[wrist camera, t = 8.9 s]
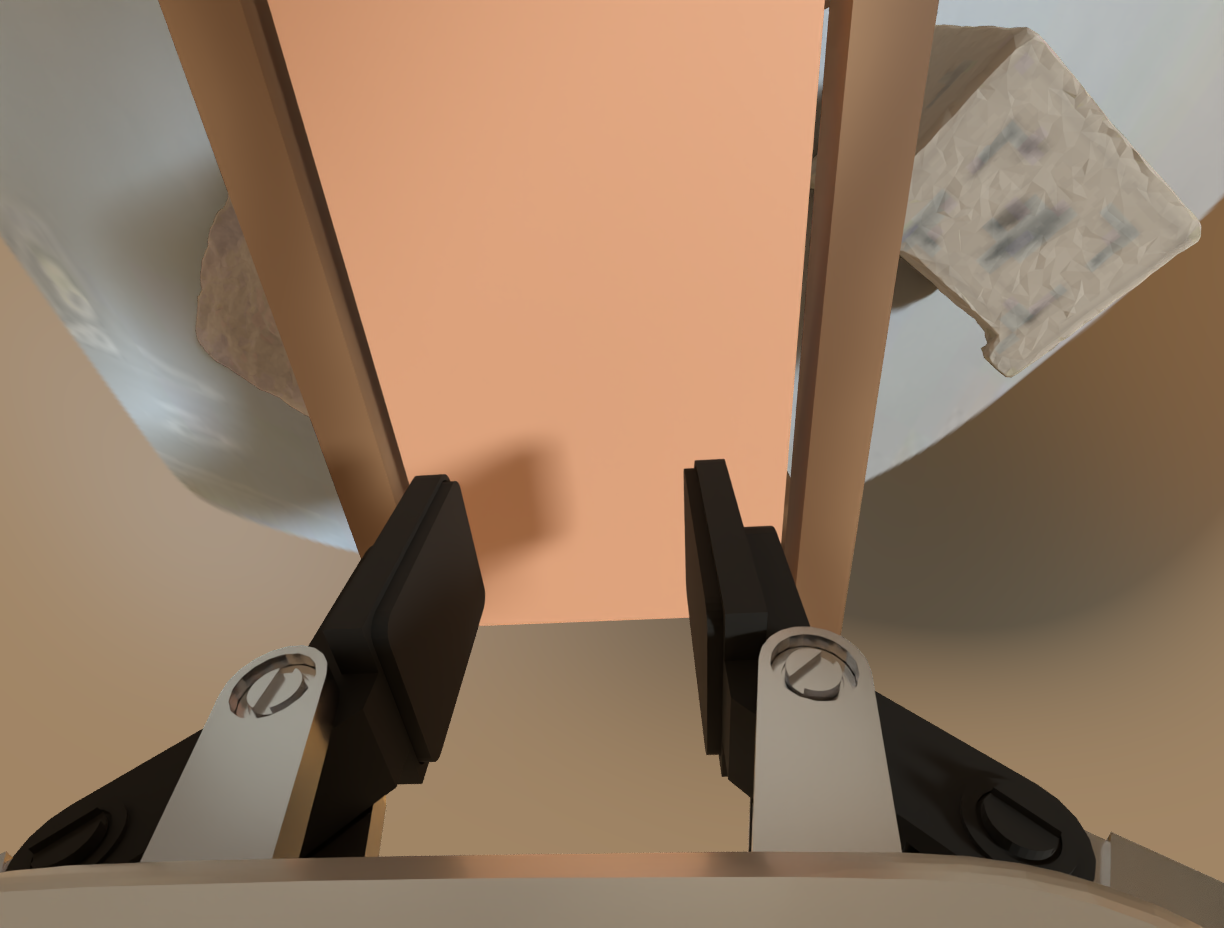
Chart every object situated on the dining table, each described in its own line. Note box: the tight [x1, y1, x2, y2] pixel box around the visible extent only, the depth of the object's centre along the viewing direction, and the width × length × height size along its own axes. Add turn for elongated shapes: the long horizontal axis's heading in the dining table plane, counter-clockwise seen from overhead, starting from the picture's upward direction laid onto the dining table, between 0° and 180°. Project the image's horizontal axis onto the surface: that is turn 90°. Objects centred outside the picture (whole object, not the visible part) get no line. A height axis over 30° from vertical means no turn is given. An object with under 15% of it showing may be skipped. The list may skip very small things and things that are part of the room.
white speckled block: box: [810, 24, 1201, 377], centre depth 24 cm, size 10×8×10 cm
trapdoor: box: [267, 0, 825, 626], centre depth 15 cm, size 10×18×3 cm, turn 4°
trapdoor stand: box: [158, 0, 939, 636], centre depth 22 cm, size 14×18×18 cm
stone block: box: [196, 194, 309, 417], centre depth 30 cm, size 12×5×10 cm
